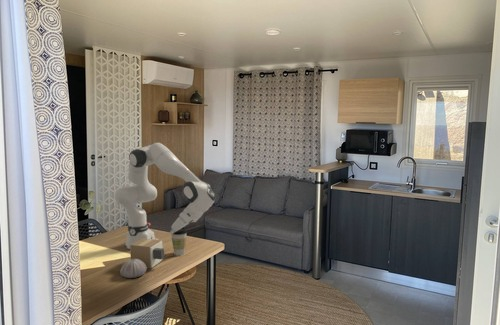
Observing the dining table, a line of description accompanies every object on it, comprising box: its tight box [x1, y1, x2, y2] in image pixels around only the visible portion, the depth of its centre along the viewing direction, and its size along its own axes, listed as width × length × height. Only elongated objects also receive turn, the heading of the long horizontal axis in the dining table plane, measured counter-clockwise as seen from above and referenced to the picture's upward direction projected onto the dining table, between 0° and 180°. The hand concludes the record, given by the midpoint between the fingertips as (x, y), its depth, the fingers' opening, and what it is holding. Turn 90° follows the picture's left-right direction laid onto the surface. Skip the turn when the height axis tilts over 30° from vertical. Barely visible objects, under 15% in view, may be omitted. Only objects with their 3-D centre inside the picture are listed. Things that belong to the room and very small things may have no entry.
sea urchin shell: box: [119, 258, 148, 279], centre depth 196 cm, size 13×14×8 cm
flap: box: [150, 240, 165, 269], centre depth 208 cm, size 12×6×11 cm, turn 165°
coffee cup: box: [170, 226, 188, 256], centre depth 226 cm, size 10×10×15 cm
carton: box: [129, 238, 162, 269], centre depth 211 cm, size 12×12×12 cm
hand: (175, 230), depth 201 cm, fingers open, 8 cm apart
